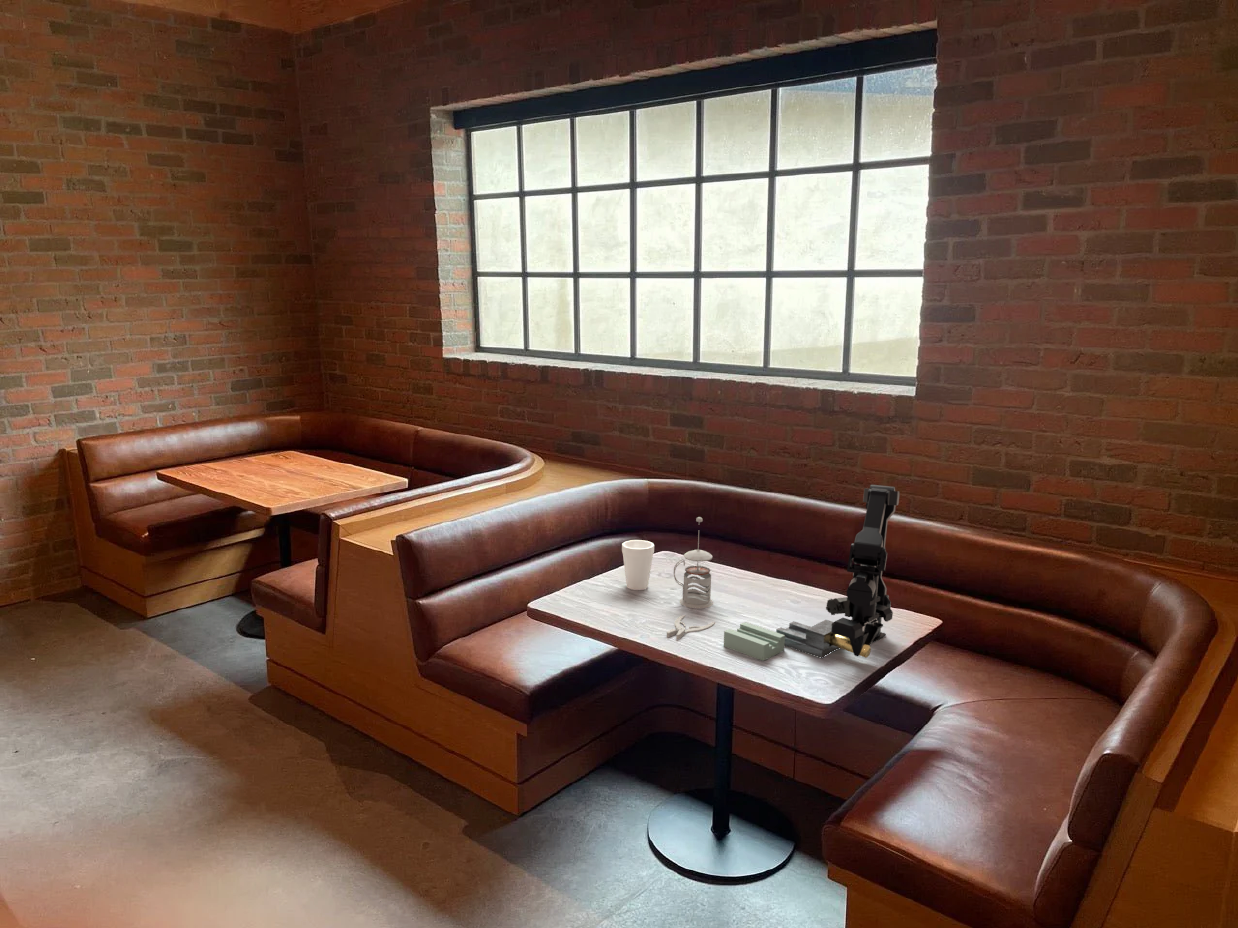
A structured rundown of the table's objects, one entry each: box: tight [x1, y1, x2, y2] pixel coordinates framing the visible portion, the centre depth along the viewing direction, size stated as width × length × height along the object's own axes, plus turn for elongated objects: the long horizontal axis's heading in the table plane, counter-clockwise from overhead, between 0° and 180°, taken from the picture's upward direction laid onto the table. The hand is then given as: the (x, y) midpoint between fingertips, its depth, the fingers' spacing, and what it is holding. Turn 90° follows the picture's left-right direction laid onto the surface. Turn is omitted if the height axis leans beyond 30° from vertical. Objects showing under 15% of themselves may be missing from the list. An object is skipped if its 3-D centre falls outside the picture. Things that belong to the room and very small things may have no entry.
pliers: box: [666, 614, 716, 640], centre depth 228 cm, size 10×2×15 cm
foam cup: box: [621, 539, 655, 591], centre depth 259 cm, size 10×9×13 cm
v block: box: [723, 621, 785, 662], centre depth 216 cm, size 9×12×4 cm
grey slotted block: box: [775, 619, 840, 659], centre depth 219 cm, size 10×14×6 cm
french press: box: [673, 516, 715, 610], centre depth 245 cm, size 10×12×25 cm
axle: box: [829, 633, 872, 659], centre depth 212 cm, size 3×14×3 cm, turn 45°
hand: (860, 653), depth 209 cm, fingers closed on axle, 3 cm apart
